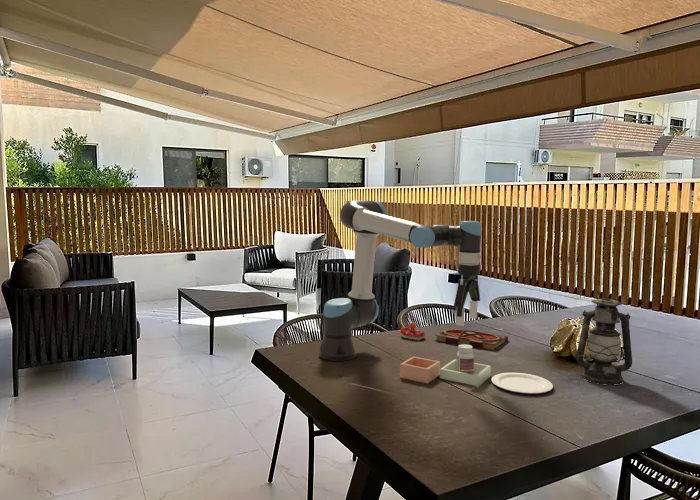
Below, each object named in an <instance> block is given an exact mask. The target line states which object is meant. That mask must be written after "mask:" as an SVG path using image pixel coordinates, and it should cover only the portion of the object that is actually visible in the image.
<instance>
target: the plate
mask: <svg viewBox="0 0 700 500" xmlns="http://www.w3.org/2000/svg"><path fill="white" fill-rule="evenodd" d="M491 383H493V385H494V386H496V387H498V388H499V389H502V390H504V391H509V392H512V393H516V394H525V395H540V394H546V393H549V392H551V391H552V390H553V387H554V385H553V383H552V382H551V381H549V380H548V379H546V378H544V377H541V376H539V375H534V374H530V373H523V372H503V373H498V374H494V375H493V376H492V377H491Z"/></svg>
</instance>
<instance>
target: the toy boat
mask: <svg viewBox="0 0 700 500" xmlns="http://www.w3.org/2000/svg"><path fill="white" fill-rule="evenodd" d="M416 327H417V324H416V323H415V322H413V321H412V322H410V323H409V327H407V326H402V327H401V328H400V335H401V337H402V338H403V339H406V338H407V339H409V340H412V339H413V340H414V341H420V340H422V339H424V338H425V335H426V333H425V332H424V331H422V330H416Z"/></svg>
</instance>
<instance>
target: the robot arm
mask: <svg viewBox="0 0 700 500" xmlns="http://www.w3.org/2000/svg"><path fill="white" fill-rule="evenodd" d="M386 209H387V208H386V207H385V206H384V205H383V204H382V203H381V202H379V201H378V200H377V201H376V200H350V201H347V202H346V203H345V204H343V205H342V207H341V209H340V211H339V219H340V221H341V223H342V224H343V226H344V227H346V228H348V229H350V230H352V232H353V234H355V236H356V237H355V248H354V249H355V250H354V261H353V274H352V286H351V291H349V292H348V293H347V297H346V298H345V297H338V298H332V299H329V300H327V301H326V302H325V303H324V305H323V338H322V342H321V345H320V347H319V351H318V352H319V355H318V356H319V357H320V358H321V359H322V360H327V361H332V362H333V361H334V362H342V361H344V362H345V361H349V360H352V359H355V357H356V348H355V345H354V342H353V337H352V336H353V335H352V333H353V332H352V331H353V329H354V328H358V327H363V326H367V325H370V324H372V323H373V322H374V321H376V319H377V318H378V315H379V313H380V307H379V304H378V302H377V300H376V299H375V294H374V293H373V292H372V290H373V283H374V282H373V279H374V271H375V270H374V268H375V258H376V247H377V238H378V237H379V236H380V235H382V236H385V237H389V238H392V239H396V240H399V241H403V242H405V243H409V244H412V245H413V246H414V247H415V248H419V249H426V248H433V247H444V246H448V247H450V246H452V247H458V261H457V262H458V266H457V267H458V268H457V273H458V275H460V276H462V278H459V279H458V281H457V283H458V284H457V289H456V294H455V299H454V304H453V307H455V308H456V314H455V325H456V326H460V327H464V326H465V313H466V312H465V311H466V308H465V304H466V300H467V296H468V294H469V297H470V300H469V313H468V315H469V317H468V318H469V319H478V303H479V302H481V294H480V287H479V275H480V273H481V272H480V269H481V266H480V263H481V258H482V255H481V244H482V223H481V222H480V221H478V220H461V221H460V223H459V225H449V224H433V225H425V224H422V223H418V222H414V221H410V220H406V219H402V218H398V217H394V216H390V215H388V211H387V210H386Z"/></svg>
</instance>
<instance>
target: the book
mask: <svg viewBox="0 0 700 500" xmlns="http://www.w3.org/2000/svg"><path fill="white" fill-rule="evenodd" d="M434 336H436V339H434V342H439V343H445V344H450V345H455V346H459V345H462V344H466V345H471V346H472V347H473V348H474V349H478V350H479V349H481V350H487V351H494V352H495V351H496V350H498V348H499V346H501V345H503V343H505V342H508V341H509V336H507V335H501V334H494V333H487V332H482V331H475V330H466V329H459V328H452V327H449V328H447V329H445V330H443V331H440V332H439V333H436V334H434Z"/></svg>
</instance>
